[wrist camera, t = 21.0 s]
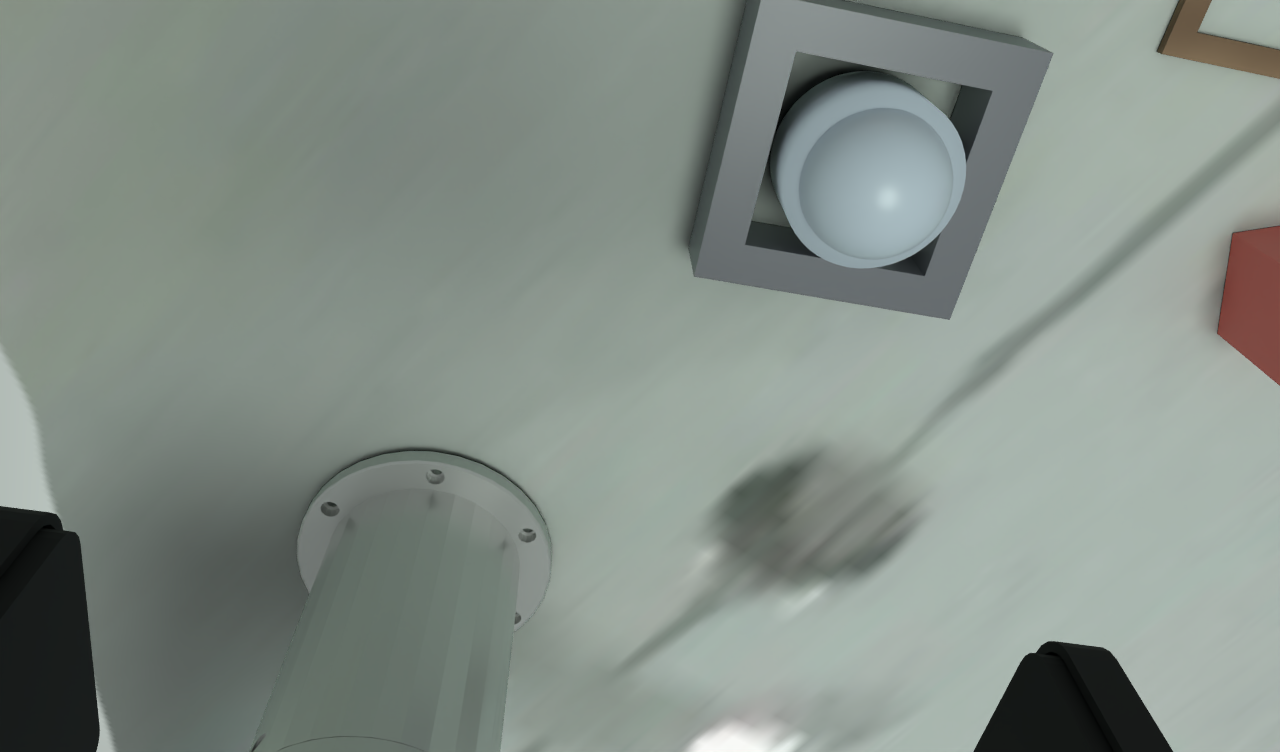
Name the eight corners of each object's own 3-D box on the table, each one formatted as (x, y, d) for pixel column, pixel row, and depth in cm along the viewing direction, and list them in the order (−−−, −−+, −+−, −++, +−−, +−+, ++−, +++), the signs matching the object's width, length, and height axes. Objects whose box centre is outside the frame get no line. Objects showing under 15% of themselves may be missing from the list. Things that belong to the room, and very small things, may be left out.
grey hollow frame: (928, 290, 44) (949, 319, 41) (688, 248, 42) (694, 276, 40) (1022, 37, 38) (1053, 53, 36) (751, -20, 37) (762, -7, 34)
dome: (907, 250, 41) (952, 312, 36) (751, 222, 40) (773, 282, 35) (964, 89, 38) (1022, 131, 33) (796, 55, 37) (827, 93, 32)
